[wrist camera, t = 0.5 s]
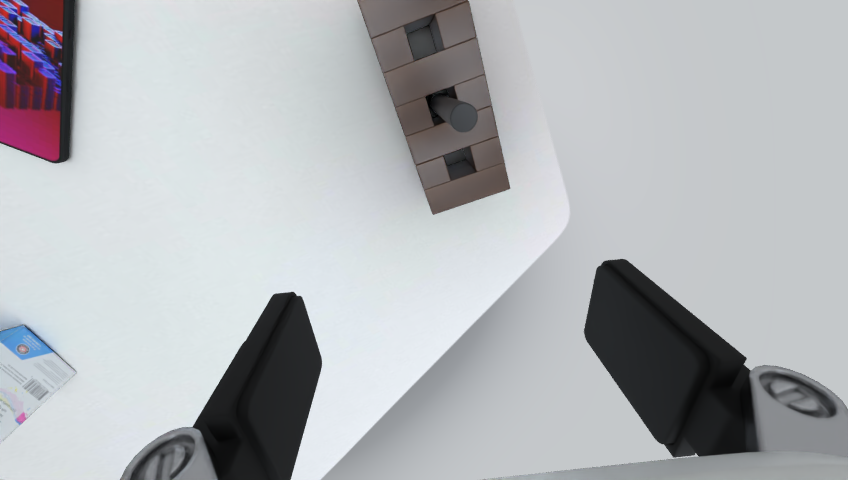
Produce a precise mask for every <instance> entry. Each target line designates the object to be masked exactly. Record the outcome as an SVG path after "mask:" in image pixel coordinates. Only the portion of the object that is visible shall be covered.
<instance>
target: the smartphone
mask: <svg viewBox="0 0 848 480" xmlns="http://www.w3.org/2000/svg"><path fill="white" fill-rule="evenodd" d="M74 4H75V0H0V143H1V144H4V145H7V146H9V147H12V148H15V149H17V150H20V151H23V152H25V153H28V154H31V155H33V156H36V157H39V158H41V159H44V160H46V161H49V162H52V163H60V162H64V161H66V160H67V159H68V157H69V135H70V109H71V83H72V57H73V31H74Z"/></svg>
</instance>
